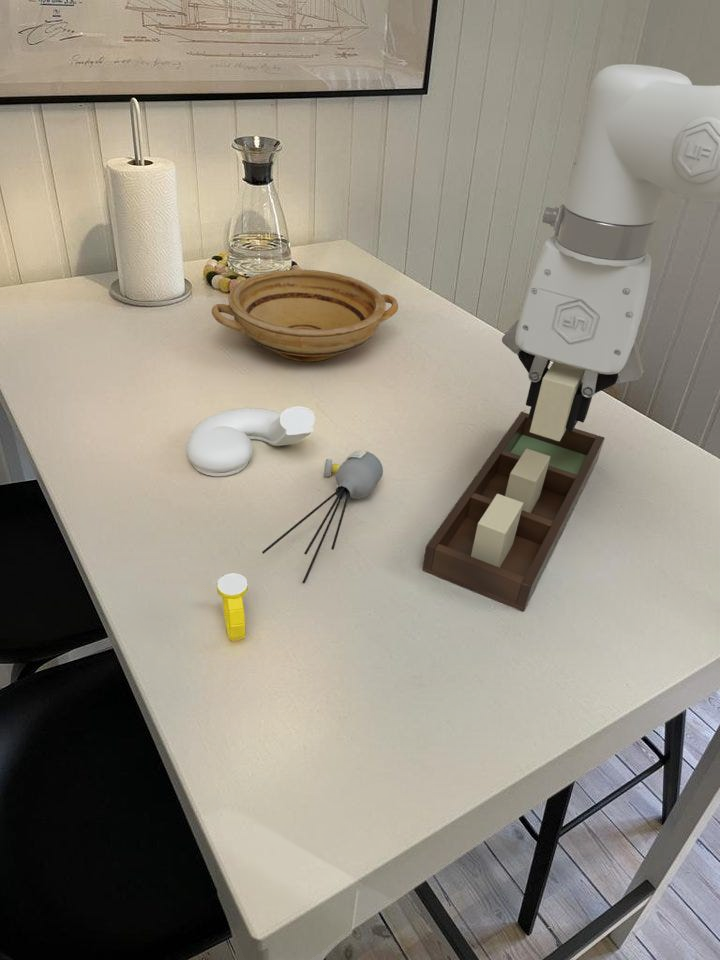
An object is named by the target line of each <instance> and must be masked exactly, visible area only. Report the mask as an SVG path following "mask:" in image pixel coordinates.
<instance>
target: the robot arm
mask: <svg viewBox="0 0 720 960" xmlns="http://www.w3.org/2000/svg"><path fill="white" fill-rule="evenodd" d="M665 191H667V192H669V193H671V194H673V195H676V196H678V197H680V198H683V199H685V200H688V201H692V202H696V203H701V204H716V203H720V84H717V85H696V84H693V83H692V81H691V79H690V78H689V77H688V76H686V75H685V74H683V73H682V72H679V71H675V70H672V69H669V68H665V67H660V66H652V65H645V64H631V63H622V64H621V63H620V64H619V63H618V64H612V65H608V66H606V67H604V68H602V69H601V70H600V71H599V72H598V73H597V74H596V76H595V77H594V79H593V81H592V83H591V86H590V89H589V93H588V97H587V102H586V105H585V109H584V114H583V118H582V123H581V127H580V130H579V135H578V140H577V144H576V149H575V152H574V158H573V162H572V166H571V171H570V175H569V179H568V183H567V188H566V192H565V195H564V196H565V197H564V201H563V204H561V205H560V206H559V207H557V206H556V207H554V208H553V207H550V206H546V207H545V209H544V212H543V215H542V220H541V221H542V224H547V225H549V226H550V227H553V231H554V235H552V236H551V237H549V238H548V239H546V241H544V243H543V246H542V248H541V250H540V252H539V254H538V258H537V260H536V263H535V265H534V268H533V272H532V274H531V277H530V280H529V283H528V286H527V289H526V293H525V297H524V300H523V304H522V307H521V311H520V314H519V318H518V319H517V320H516V321H515V322H514V323H513V325H511V327H510V328H509V329H508V330H507V331H506V332H505V334H504V335H502V337H501V342H502V344H503V345H505V347H507V348H508V349H509V350H510V351H511V352H512V353H513V354H515V355H517V357H518V359H519V361H520V362H521V364H522V365H523V367H524V369H525V370H526V372H527V373H528V376H527V377H528V379H529V381H530V384H529V388H528V393H527V397H526V401H525V406H527V407H530V409H529V413H528V414H529V417H528V419H531V420H533V416H534V412H535V408H536V404H537V400H538V396H539V392H540V388H541V384H542V380H543V377H544V376H545V374H546V373H547V371H548V370H549V366H550V363H551V361H553V362H554V361H555V362H559V363H563V364H566V365H570V366H573V367H577V368H581V369H584V370H585V372H584V378H583V382H582V384H581V385H580V387H579V389H578V391H577V392H576V394H575V396H574V399H573V403H572V407H571V410H570V414H569V417H568V421H567V424H566V428H565V429H567V431H570V432H572V431H573V429H574V428H575V427H576V425H577V423H578V422H579V423H585V421H586V418H587V415H588V413H589V410H590V406H591V403H592V399H593V397H594V396H595V394H597V393H599V392H602V391H604V390H606V389H609V388H610V387H612V386H614V385H615V384H624V383H625V384H626V383H630V382H637V381H639V380H640V379H641V378H642V376H643V373H644V366H643V363H642V358H641V355H640V350H639V346H638V341H637V337H638V333H639V330H640V326H641V322H642V319H643V314H644V310H645V305H646V301H647V297H648V292H649V285H650V279H651V271H652V257H651V255H650V254H648V253H647V251H648V248H649V244H650V241H651V237H652V234H653V231H654V228H655V225H656V222H657V221H656V220H657V218H658V214H659V211H660V208H661V205H662V201H663V198H664V195H665Z"/></svg>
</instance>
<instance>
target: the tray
mask: <svg viewBox="0 0 720 960" xmlns="http://www.w3.org/2000/svg"><path fill="white" fill-rule="evenodd" d="M528 417H529V413H528V412H525V411H520V413H519V414H518V415H517V417H516V418H515V420H514V421H513V423H512V424H511V425H510V427H508V429H507V431H506V432H505V434H504V435H503V437H502V438H501V440H500V441H499V442H498V444H497V445H496V447H495V448H494V449H493V451H492V452H491V454H490V455H489V457H488V458H487V459H486V461H485V462H484V463H483V465H482V466H481V468H480V469H479V470H478V471H477V473H476V475H475V476H474V477H473V479H472V480H471V481H470V483H469V484H468V486H467V487H466V489H465V490H464V492H463V493H462V495H461V496H460V497H459V499H458V500H457V502H456V503H455V504H454V506H453V507H452V508H451V510H450V511H449V513H448V514H447V515H446V517H445V519H444V520H443V521H442V522H441V524H440V526H439V527H438V528H437V530H436V531H435V533H434V534H433V535H432V537H431V538H430V539H429V540H428V542H427V544H426V545H425V550H424V557H423V563H422V572H425V573H427V574H430V575H432V576H434V577H437V578H440V579H441V580H445V581H446V582H449V583H451V584H454V585H457V586H459V587H462V588H464V589H467V590H469V591H472V592H473V593H477V594H479V595H481V596H485V597H486V598H489V599H491V600H494V601H496V602H499V603H502V604H504V605H506V606H509V607H511V608H513V609H516V610H518V611H520V612H525V611H526V609H527V607H528V605H529V602H530V601H531V598H532V596H533V594H534V592H535V591H536V589H537V586H538V584H539V582H540V580H541V578H542V576H543V575H544V572H545V570H546V568H547V566H548V564H549V561H550V559H551V557H552V555H553V553H554V551H555V549H556V547H557V545H558V543H559V541H560V539H561V537H562V535H563V532H564V530H565V528H566V526H567V524H568V522H569V520H570V519H571V516H572V514H573V512H574V510H575V508H576V506H577V504H578V501H579V499H580V498H581V496H582V493H583V491H584V489H585V487H586V485H587V484H588V482H589V479H590V477H591V476H592V473H593V471H594V469H595V467H596V464H597V463H598V460H599V458H600V455H601V452H602V449H603V445H604V442H605V440H606V439H605V437H604V436H601V435H598V434H595V433H591V432H589V431H585V430H583V429H579V428H575V427H574V429H573V431H572V432H570V431H567V429H566V431H565V432H564V434H563V436H562V438H561V440H560V441H556V440H553V439H550V438H546V437H543V436H540V435H537V434H534V433H531V432H530V428H531V424H532V420H531V419H528ZM526 449H530V450H533V451H536V452H539V453H542V454H545V455H548V456H550V461H549V465H548V468H547V472H546V476H545V479H544V483H543V487H542V490H541V494H540V497H539V499H538V501H537V502H536V504H535V506H534V508H533V510H532V511H531V513H529V512H526V511H523V510H522V511H521V515H520V519H519V523H518V526H517V530H516V534H515V538H514V542H513V545H512V547H511V549H510V551H509V552H508V554H507V556H506V558H505V559H504V561H503V563H502V565H501V567H497V566H494V565H492V564H489V563H487V562H484V561H482V560H479V559H476V558H474V557H471V553H472V549H473V544H474V539H475V535H476V530H477V525H478V523H479V521H480V519H481V518H482V516H483V515H484V513H485V512H486V510H487V509H488V507H489V506H490V504H491V502H492V501H493V499H494V498H495V496H496V495H497V494H500V495H503V496H505V493H506V489H507V485H508V481H509V477H510V473H511V471H512V470H513V468H514V467H515V465H516V464H517V462H518V461H519V459H520V457H521V456H522V454H523V453H524V451H525V450H526Z"/></svg>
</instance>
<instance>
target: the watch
mask: <svg viewBox="0 0 720 960" xmlns="http://www.w3.org/2000/svg"><path fill="white" fill-rule="evenodd" d="M248 585H249V583H248V580H247V578H246V577H245V576H244V575H242V574H240V573H231V572H230V573H227V574H224V575H222V576H221V577H220V578H219V579H218V580H217V582H216V591H217V595H218V596H220V597H221V600H222V608H223V609H222V610H223V614H224V615H223V617H224V620H225V627H226V633H227V639H228V640H229V641H230V642H232V641H233V642H234V641H238V640H243V639H245V637H246V617H245V608H244V600H243V597H244V596H246V594H247V593H248V590H249V588H248V587H249V586H248Z"/></svg>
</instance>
